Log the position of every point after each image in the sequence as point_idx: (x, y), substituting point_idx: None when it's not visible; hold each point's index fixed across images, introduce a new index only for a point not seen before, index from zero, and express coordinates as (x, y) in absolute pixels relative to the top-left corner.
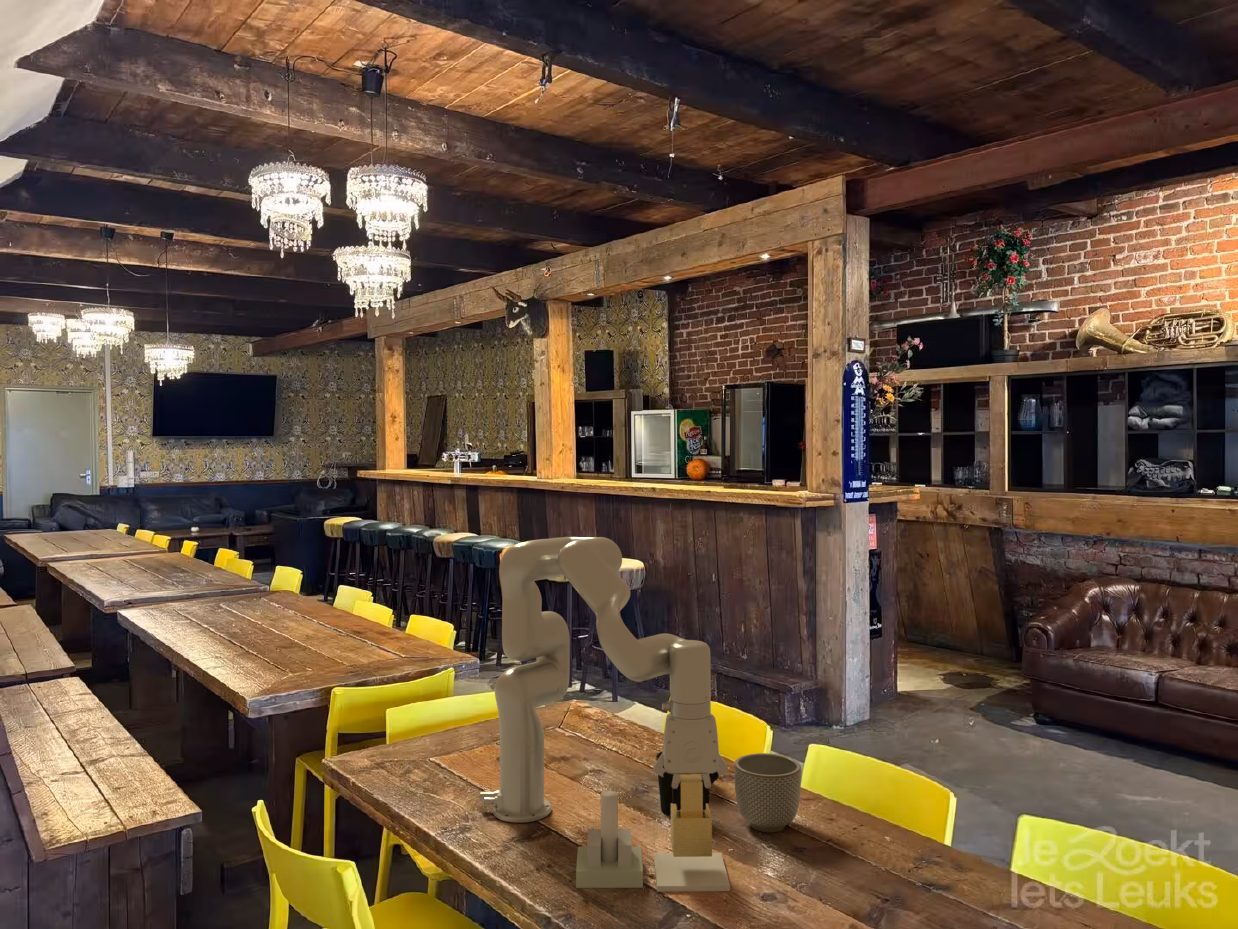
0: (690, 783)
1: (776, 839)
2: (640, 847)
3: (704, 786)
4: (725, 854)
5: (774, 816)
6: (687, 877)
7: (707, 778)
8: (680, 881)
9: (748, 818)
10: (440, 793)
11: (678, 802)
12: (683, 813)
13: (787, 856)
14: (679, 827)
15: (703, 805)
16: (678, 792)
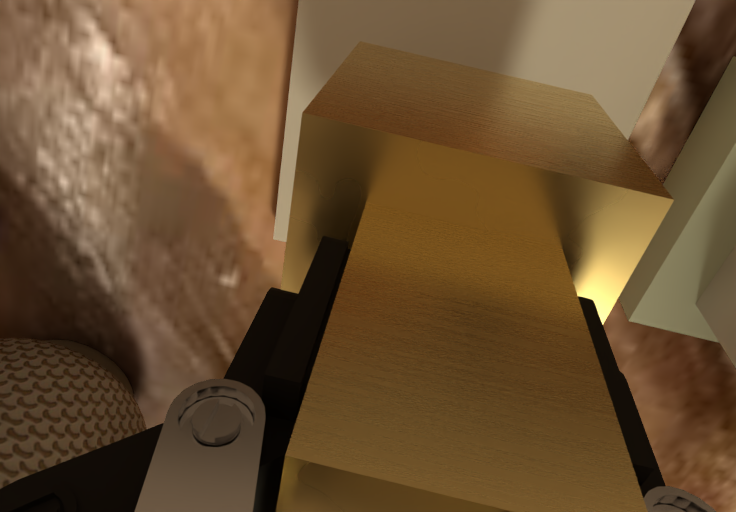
0: (489, 489)
1: (57, 298)
2: (636, 312)
3: (266, 427)
4: (256, 250)
5: (5, 357)
6: (496, 56)
7: (177, 509)
8: (549, 20)
9: (119, 394)
10: None
11: (595, 342)
12: (540, 252)
13: (22, 175)
14: (594, 153)
15: (339, 259)
16: (622, 430)
